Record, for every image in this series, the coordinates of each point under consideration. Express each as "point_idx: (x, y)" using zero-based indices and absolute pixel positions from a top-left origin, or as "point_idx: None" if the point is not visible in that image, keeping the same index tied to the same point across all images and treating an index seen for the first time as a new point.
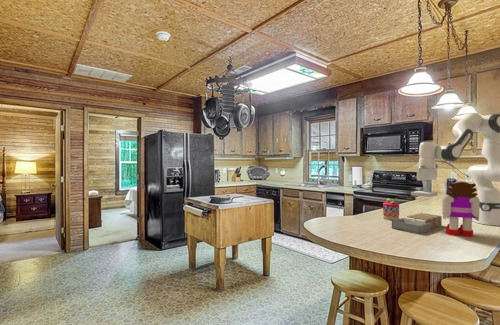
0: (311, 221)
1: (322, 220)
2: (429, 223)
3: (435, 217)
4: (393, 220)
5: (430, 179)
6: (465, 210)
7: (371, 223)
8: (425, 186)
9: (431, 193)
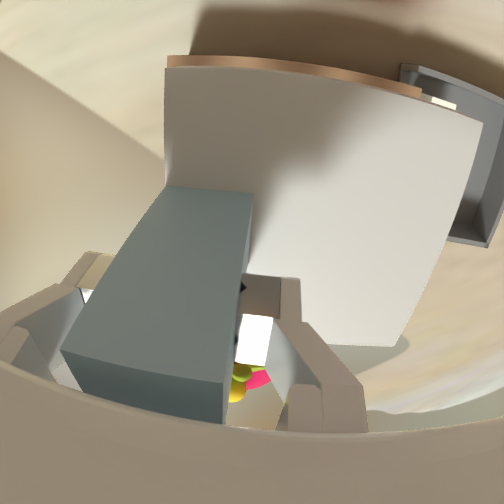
0: (475, 397)
1: (452, 396)
2: (437, 71)
3: (276, 61)
4: (482, 243)
5: (49, 388)
6: None
7: (423, 311)
8: (297, 295)
9: (430, 103)
